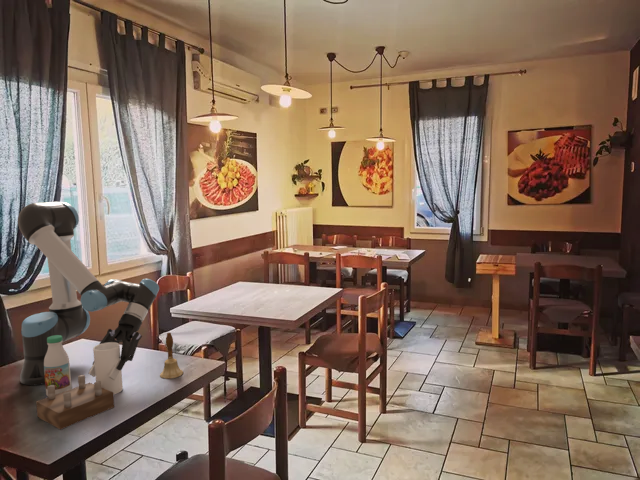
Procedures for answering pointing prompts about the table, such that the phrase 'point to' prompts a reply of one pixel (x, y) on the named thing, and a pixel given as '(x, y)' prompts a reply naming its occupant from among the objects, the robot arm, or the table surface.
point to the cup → (107, 366)
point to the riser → (74, 404)
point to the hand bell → (170, 362)
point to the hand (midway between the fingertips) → (101, 376)
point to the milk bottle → (57, 366)
